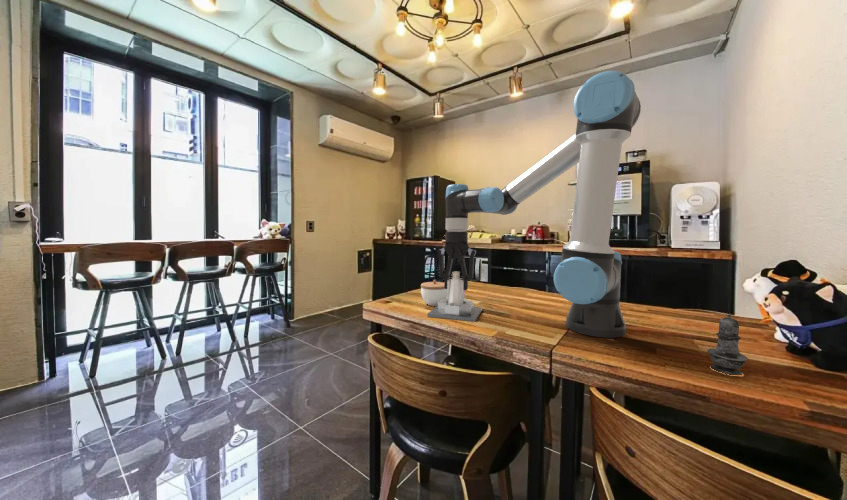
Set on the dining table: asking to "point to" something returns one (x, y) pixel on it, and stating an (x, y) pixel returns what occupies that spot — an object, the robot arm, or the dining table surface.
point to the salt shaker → (455, 289)
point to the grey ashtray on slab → (456, 310)
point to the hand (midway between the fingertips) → (455, 298)
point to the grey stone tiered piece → (727, 348)
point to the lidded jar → (433, 292)
